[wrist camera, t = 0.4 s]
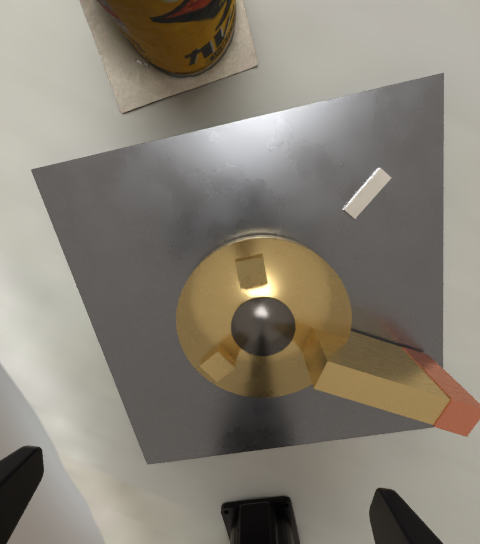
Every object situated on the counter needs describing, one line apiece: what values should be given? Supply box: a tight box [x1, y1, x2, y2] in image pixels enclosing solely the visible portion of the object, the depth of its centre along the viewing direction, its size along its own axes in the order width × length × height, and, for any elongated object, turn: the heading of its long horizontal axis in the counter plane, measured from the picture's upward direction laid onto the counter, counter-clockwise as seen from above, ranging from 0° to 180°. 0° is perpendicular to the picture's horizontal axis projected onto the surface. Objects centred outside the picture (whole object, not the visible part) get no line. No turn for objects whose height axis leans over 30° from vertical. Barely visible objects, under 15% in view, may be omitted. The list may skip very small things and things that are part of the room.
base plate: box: [31, 73, 444, 464], centre depth 20 cm, size 24×24×1 cm
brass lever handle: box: [176, 235, 480, 437], centre depth 17 cm, size 12×16×5 cm
